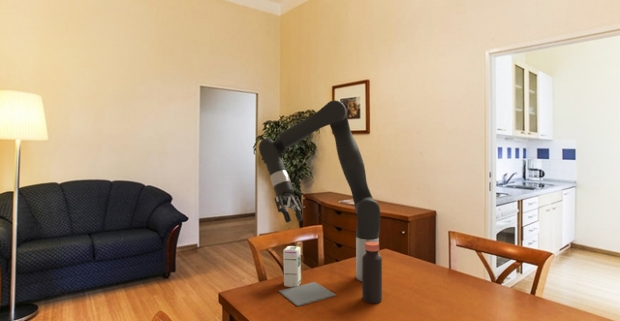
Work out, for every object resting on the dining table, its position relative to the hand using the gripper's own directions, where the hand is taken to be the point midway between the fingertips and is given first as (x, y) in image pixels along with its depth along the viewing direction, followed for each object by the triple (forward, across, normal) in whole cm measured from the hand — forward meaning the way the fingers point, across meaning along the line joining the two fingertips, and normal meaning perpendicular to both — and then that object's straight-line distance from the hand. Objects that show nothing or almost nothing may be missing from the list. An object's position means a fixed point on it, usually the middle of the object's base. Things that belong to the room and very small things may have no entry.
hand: (294, 221), depth 132 cm
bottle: (+36, +5, -17) cm, 40 cm away
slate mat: (+27, -3, +4) cm, 27 cm away
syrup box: (+22, +3, +12) cm, 25 cm away
